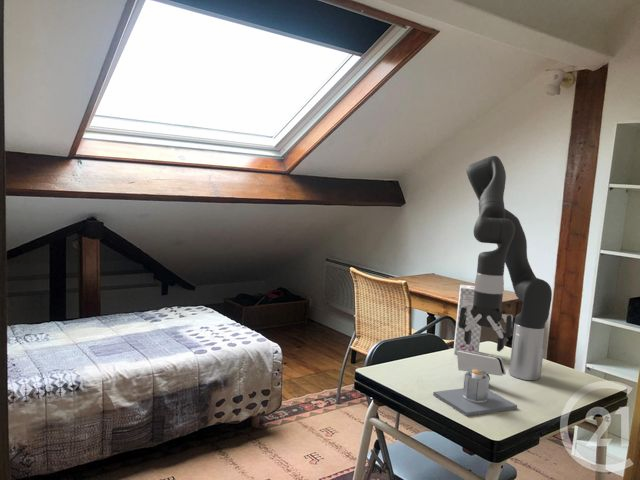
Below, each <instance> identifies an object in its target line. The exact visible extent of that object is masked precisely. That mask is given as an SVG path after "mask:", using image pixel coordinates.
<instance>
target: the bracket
mask: <svg viewBox="0 0 640 480" xmlns="http://www.w3.org/2000/svg"><path fill="white" fill-rule="evenodd" d="M456 356H457V357H456V358H457V369H458V371H459V372H460V371H463V372H472V370H473V369H478V370H481V371H484V372H486V373H487V375H488V377H489V381H490V380H491V377H490V375H493V376H499V377H501V376H502V377H503V375H506V373H507V372H506V369H505V364H504V361H503V359H502V358H501V357H500V356H496V355H495V356H494V355H489V354H485V353H480V352H479V353H475V352H470V351H464V350H461V351H457V355H456Z"/></svg>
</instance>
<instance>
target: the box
mask: <svg viewBox="0 0 640 480" xmlns="http://www.w3.org/2000/svg"><path fill="white" fill-rule="evenodd" d="M474 288H475V285H470V284H469V285H467V284H459V291H458V292H459V293H458V301H457V302H458V303H457V312H456V321H455V330H454V340H453V341H454V343H453V353H454V355H456V356H457V351H461V350H464V351H470V352H475V353H480V352H479V351H480V342H481V333H482V326H479V325H478V324H476V325H475V326H474V327H473V328H472V329H471V331H472V333H471V343H470V344H469V345H467V344H466V342H465V341H464V335H465V330H464V329H462V328H459V326H458V325H459V319H460V312H461V308H462V307H464V306H467V307H468V308H471V309H472V308H473V299H474ZM473 319H474V318H473V316H472V314H471V312H470V313H469V314H468V315H467V317H466V323H465V324H466V325H468V324H469V323H470V322H471V321H472V320H473Z"/></svg>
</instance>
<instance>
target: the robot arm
mask: <svg viewBox="0 0 640 480" xmlns="http://www.w3.org/2000/svg"><path fill="white" fill-rule="evenodd" d="M466 175H467V178H468V181H469V183H470V185H471V188H472V190H473V192H474V194H475V196H476V198H477V200H478V217H477V219H476V221H475V224H474V227H473V236H474V238H475V239H476V241H477V242H479V243H484V244H494V245H497V247H496V249H494V250H490V251H483V252H480V253H479V254H478V257H477V265H476V266H477V268H476V275H475V280H474V286H475V288H474V299H473V308H472V309H471V308H468V307H467V306H464V307H462V308H461V312H460V319H459V325H458V326H459V328H462V329H464V330H465V335H464V341H465V342H466V344H467V345H469V344H470V343H471V333H472V331H471V329H472V328H473V327H474V326H475V325H476V324H478V325H479V326H481V327H486V328H490V329H491V328H492V329H493V331H494V332H496V334H497V336H498V338H497V344H496V345H497V346H496V351H497V352H501V351H503V350H504V348H505V342H506V341H505V340H506V339H507V338H508V339H509V338H511V336H512V341H511V351H510V361H509V369H508V373H509V375H510V376H512V377H513V378H517V379H520V380H527V381H537V380H539V378H541V377H542V371H543V370H542V367H543V362H544V361H543V360H544V354H545V353H544V352H545V350H544V349H543V343H544V336H545V335H544V334H545V328H546V323H547V321H548V319H549V315H550V311H551V303H552V295H553V292H552V291H553V290H552V288H551V285H550V284H549V283H548V282H547V281H546V280H544V279H541V278H538V277H536V275H535V273H534V271H533V269H532V267H531V264H530V262H529V259H528V251H527V249H528V244H527V237H526V234H525V230H524V229H523V226H522V223H521V221H520V220H519V218H518V217H517V216H516V215H515V214H513V213H512V212H511V211H510V210H508V209H506V207H505V202H504V201H505V200H504V196H505V195H504V194H505V189H506V181H507V180H506V179H507V176H506V175H507V173H506V169H505V166H504V164H503V162H502V160H501V159H500V157H499V156H497V155H491V156H488V157H485V158H482V159H480V160H478V161H475V162H472V163H471V164H468V165H467V167H466ZM505 266H506V268H507V271H508V274H509V277H510V280H511V284H512V288H513V291H514V294H515V296H516V298H518V300H519V301H521V302H522V305H521V311H520V312H519V313H517V314H516V315H515V317H514V315H513V314H512V313H510V314H506V313H505V314H503V312H502V306H503V297H504V296H503V295H504V289H505V288H504V287H505V286H504V285H505V280H504V278H505V277H504V273H505ZM470 312H471V314H472V316H473V318H474V319H473V320H472V321H471V322H470V323H469V324H468V325H466V324H465V323H466V317H467V315H468V314H469V313H470ZM502 319H503V321H504V323H505V324H506V325H505V330H504V329H503V326H502V324H501V322H500V321H501V320H502Z"/></svg>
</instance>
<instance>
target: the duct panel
mask: <svg viewBox="0 0 640 480" xmlns="http://www.w3.org/2000/svg"><path fill="white" fill-rule="evenodd" d="M482 375H483V371H481V370H478V369H473V370H472V377H473V378H477V379H482ZM432 394H433V397H435V398H437V399H438V400H440V401H442V402H443V403H444V404H446V405H448V406H450V407H451V408H452V409H454V410H455V411H458V412H459V413H461V414H462V415H464V416H465V417H470V416H476V415H477V416H478V415H484V414H489V413H490V414H491V413H497V412H504V411H509V410H510V411H511V410H517V409H518V404H516V403H514V402H512V401H510V400H508V399H506V398H504V397H502V396H501V395H499V394H497V393H495V392H493V391H491V390H490V389H488V396H487V399H486V400H485V401H475V400H471V399H468V398H466V397H465V396H464V395H463V388H455V389H447V390H439V391H433V393H432Z"/></svg>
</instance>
